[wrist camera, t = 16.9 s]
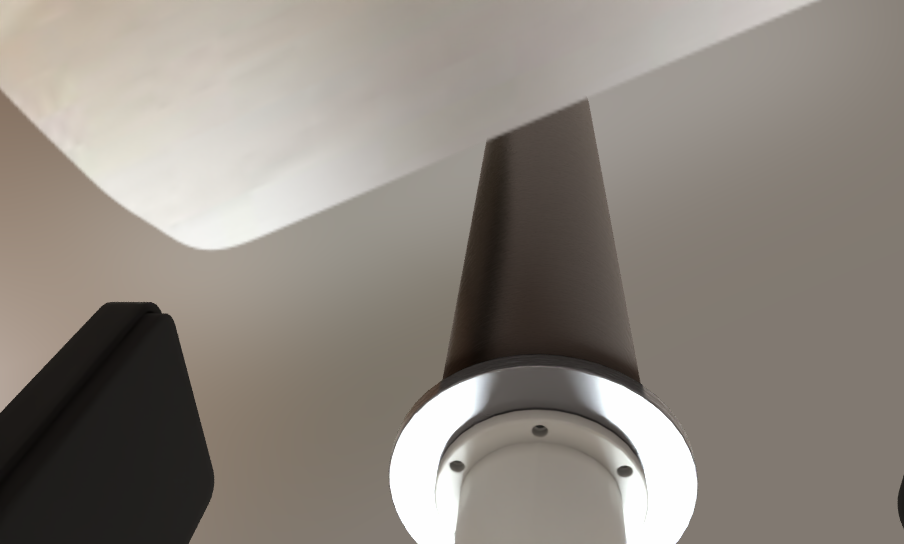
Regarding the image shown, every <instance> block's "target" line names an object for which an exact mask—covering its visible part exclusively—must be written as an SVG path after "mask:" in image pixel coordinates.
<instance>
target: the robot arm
mask: <svg viewBox="0 0 904 544" xmlns="http://www.w3.org/2000/svg"><path fill="white" fill-rule="evenodd" d="M213 488H214V472H213V468H212V464H211V460H210V456H209V453H208V449H207V445H206V441H205V437H204V433H203V429H202V426H201V422H200V418H199V414H198V410H197V407H196V403H195V399H194V395H193V391H192V387H191V384H190V380H189V376H188V372H187V368H186V365H185V361H184V357H183V353H182V349H181V345H180V342H179V338H178V334H177V330H176V326H175V323H174V321H173V319H172V317H171V316H170V315H168V314H162V313H161V310H160V309H159V307H158V306H157V305H156V304H154V303H152V302H110V303H106V304H104V305H103V306H102V307H101V308H100V309H99V310H98V311H97V312H96V313H95V314H94V315H93V316H92V317H91V318H90V319H89V320H88V321H87V322H86V323H85V324H84V325H83V326H82V328H81V329H80V330H79V331H78V332H77V333H76V334H75V335H74V336H73V337H72V338H71V339H70V340H69V341H68V342H67V343H66V344H65V345H64V347H63V348H62V349H61V350H60V351H59V352H58V353H57V354H56V355H55V356H54V357H53V358H52V359H51V360H50V361H49V362H48V363H47V364H46V365H45V366H44V368H43V369H42V370H41V371H40V372H39V373H38V374H37V375H36V376H35V377H34V378H33V379H32V380H31V381H30V382H29V383H28V384H27V385H26V386H25V388H24V389H23V390H22V391H21V392H20V393H19V394H18V395H17V396H16V397H15V398H14V399H13V400H12V401H11V402H10V403H9V404H8V405H7V407H5V409H4V410H3V411H2V412H1V413H0V544H189V542H190V540H191V538H192V536H193V534H194V532H195V530H196V528H197V526H198V523H199V522H200V519H201V518H202V516H203V514H204V512H205V510H206V508H207V506H208V504H209V502H210V499H211V497H212V493H213ZM434 499H435V508H436V511H437V513H438V516H439V519H440V522H441V523H442V525H443V526H444V528H445V530H446V531H447V533H448V534H449V536H450V537H451V538H452V539H453V540H454V544H632V543H633V541H634V540H635V539H636V538H637V537H638V535H639V534H640V532H641V530H642V528H643V526H644V524H645V522H646V518H647V514H648V509H649V493H648V487H647V482H646V477H645V473H644V471H643V468H642V466H641V464H640V462H639V459H638V458H637V457H636V455H635V454H634V453H633V451H632V450H631V449H630V447H629V446H628V445H627V444H626V443H625V442H624V441H623V440H621V439H620V438H619V437H618V436H617V435H616V434H614V433H613V432H611V431H610V430H608V429H606V428H605V427H603V426H601V425H600V424H598V423H596V422H593V421H591V420H588V419H586V418H583V417H580V416H578V415H574V414H569V413H564V412H559V411H551V410H524V411H513V412H510V413H506V414H502V415H498V416H494V417H491V418H489V419H487V420H485V421H482V422H480V423H478V424H476V425H474V426H473V427H471V428H470V429H468V430H467V431H465V432H464V433H462V434H461V435H460V436H459V437H458V438H457V439H456V440H455V441H454V442H453V443H452V444H451V445H450V446H449V448H448V449H447V451H446V452H445V454H444V456H443V457H442V459H441V461H440V464H439V468H438V471H437V474H436V481H435V488H434ZM898 512H899V517H900V521H901V523H902V526H903V528H904V476H903V480H902V483H901V487H900V490H899V495H898Z"/></svg>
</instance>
